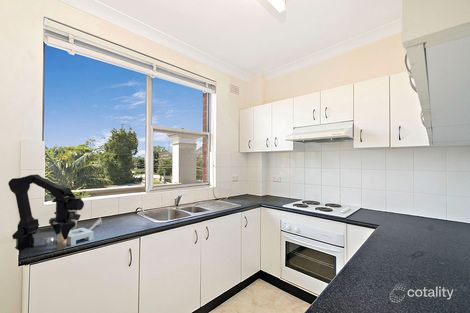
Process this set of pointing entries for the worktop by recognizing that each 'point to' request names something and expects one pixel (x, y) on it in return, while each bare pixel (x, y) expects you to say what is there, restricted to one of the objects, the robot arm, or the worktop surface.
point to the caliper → (96, 223)
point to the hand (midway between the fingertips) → (61, 237)
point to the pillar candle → (73, 219)
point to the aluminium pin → (49, 241)
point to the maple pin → (60, 242)
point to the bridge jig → (79, 235)
